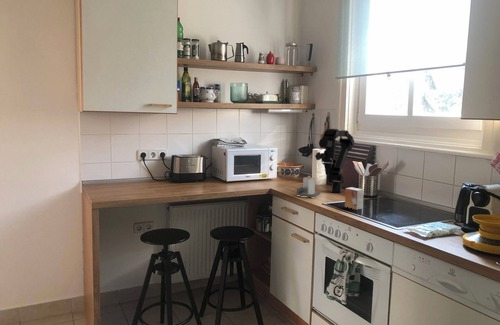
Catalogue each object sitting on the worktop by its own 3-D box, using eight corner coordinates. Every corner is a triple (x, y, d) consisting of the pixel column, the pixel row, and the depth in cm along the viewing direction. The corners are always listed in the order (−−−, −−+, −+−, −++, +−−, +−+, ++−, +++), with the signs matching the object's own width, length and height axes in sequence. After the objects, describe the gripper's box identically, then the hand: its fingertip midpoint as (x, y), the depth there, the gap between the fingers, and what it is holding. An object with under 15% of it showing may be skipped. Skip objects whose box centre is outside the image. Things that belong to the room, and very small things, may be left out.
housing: (309, 191, 255) (309, 175, 254) (314, 192, 251) (315, 176, 250) (303, 192, 253) (303, 175, 251) (308, 193, 248) (308, 177, 247)
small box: (344, 207, 223) (344, 188, 222) (350, 205, 227) (351, 186, 225) (356, 210, 217) (357, 190, 216) (363, 208, 221) (363, 189, 219)
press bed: (303, 193, 259) (303, 185, 259) (319, 195, 254) (319, 187, 253) (296, 196, 251) (296, 188, 250) (313, 198, 245) (313, 190, 245)
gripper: (319, 149, 263) (317, 173, 263) (314, 147, 246) (311, 173, 246) (337, 150, 260) (335, 175, 260) (332, 148, 242) (330, 175, 242)
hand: (327, 174), depth 252 cm, fingers open, 9 cm apart
